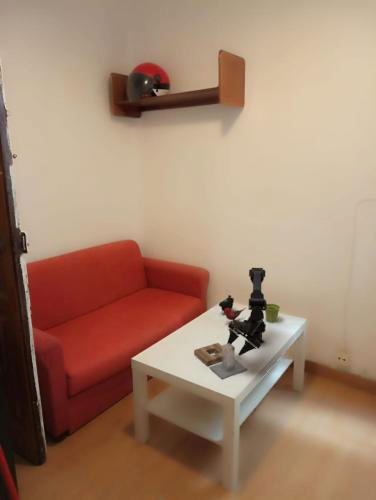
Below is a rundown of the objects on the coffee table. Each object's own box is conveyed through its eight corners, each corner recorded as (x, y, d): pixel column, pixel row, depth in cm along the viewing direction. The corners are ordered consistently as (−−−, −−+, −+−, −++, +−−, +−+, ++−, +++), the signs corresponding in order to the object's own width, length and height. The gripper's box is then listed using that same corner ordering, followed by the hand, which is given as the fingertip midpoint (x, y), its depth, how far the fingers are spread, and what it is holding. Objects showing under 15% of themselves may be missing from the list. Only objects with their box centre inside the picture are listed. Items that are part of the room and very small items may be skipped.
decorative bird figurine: (221, 324, 211) (221, 308, 209) (244, 316, 221) (244, 301, 219) (225, 326, 209) (225, 310, 206) (247, 318, 219) (247, 302, 216)
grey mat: (234, 359, 174) (234, 358, 174) (247, 370, 166) (247, 368, 166) (209, 368, 168) (209, 367, 168) (221, 379, 159) (221, 378, 159)
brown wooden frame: (218, 347, 186) (218, 342, 186) (231, 357, 176) (231, 353, 176) (194, 354, 180) (194, 350, 179) (207, 366, 170) (207, 361, 169)
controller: (234, 310, 231) (235, 295, 228) (223, 316, 222) (223, 301, 219) (229, 308, 233) (229, 293, 231) (217, 314, 224) (217, 299, 222)
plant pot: (279, 317, 219) (279, 303, 217) (279, 324, 210) (280, 310, 208) (263, 316, 221) (263, 303, 219) (263, 323, 212) (263, 309, 210)
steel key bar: (229, 364, 169) (229, 343, 167) (234, 368, 166) (234, 346, 163) (222, 367, 168) (222, 345, 165) (227, 371, 164) (227, 349, 161)
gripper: (231, 306, 172) (211, 333, 170) (256, 321, 156) (234, 351, 154) (244, 318, 178) (225, 344, 176) (270, 334, 162) (249, 363, 160)
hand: (233, 350), depth 166 cm, fingers open, 9 cm apart
